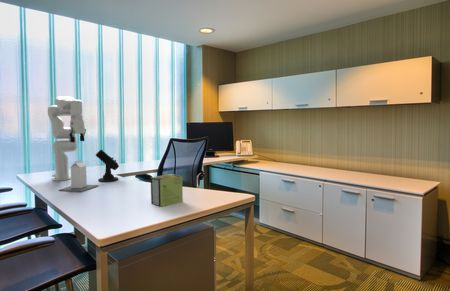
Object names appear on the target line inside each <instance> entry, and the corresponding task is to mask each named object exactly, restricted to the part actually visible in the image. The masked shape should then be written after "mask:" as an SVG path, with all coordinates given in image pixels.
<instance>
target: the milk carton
mask: <svg viewBox="0 0 450 291" xmlns="http://www.w3.org/2000/svg"><path fill="white" fill-rule="evenodd" d="M70 177H71V179H70V184H71V185H70V186H71V188H83V187H86V186H87V185H88V182H87V165H86V164H85V163H84V162H83V161H82V159H80V160H76V161H74V162H73V164H72V165H71V166H70Z"/></svg>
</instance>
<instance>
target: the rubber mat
mask: <svg viewBox="0 0 450 291" xmlns="http://www.w3.org/2000/svg"><path fill="white" fill-rule="evenodd" d="M99 186H100V185H98V184H87V186H86V187H83V188H71V185H70V186H67V187H63V188H60V189H58V191H59V192H72V193H73V192H74V193H84V192H87V191H89V190H92V189H95V188H97V187H99Z"/></svg>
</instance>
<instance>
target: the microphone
mask: <svg viewBox="0 0 450 291" xmlns="http://www.w3.org/2000/svg"><path fill="white" fill-rule="evenodd" d="M95 157H96V158H97V159H99V160H100V161H101V162H102V163H104V164H105V170H104V173H103V175H102V177H100V178H98V180H97V181H98V182H99V183H112V182H117V181H119V177H117V176H114V174H112V170H114V171H116V170H117V169H119V167H120V165H119V164H118V162H117V159H114V157H111V155H108V153H106V151H104V150H103V149H100V150H98V151H97V152H96V153H95Z"/></svg>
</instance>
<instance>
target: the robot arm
mask: <svg viewBox="0 0 450 291" xmlns="http://www.w3.org/2000/svg"><path fill="white" fill-rule="evenodd" d="M54 104H55V105H50V106H48V108H47V116H48V118H49V120H50V123H51V128H52V135H53V138H54V139H55V140H56V141H54V142H53V143H52V150H53V155H54V169H55V170H54V171H55V172H54V173H52V177H53V181H54V182H56V181H57V182H58V181H59V182H60V181H61V182H62V181H69V180H71V176H70V172H69V170H70V169H69V157H68V155H67V154H66V153H71V152H76V151H77V149H78V144H77V143H78V142H77V136H76V135H77V134H79V142H85V135H86V131H87V129H86V128H85V127H86V126H85V121H84V119H83V118H84V117H83V101H82V100H81V99H75V98H74V96H73V97H72V96H57V97H56V98H55V100H54ZM61 117H70V120H69V127H65V123H64V121H63V119H62V118H61Z"/></svg>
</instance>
